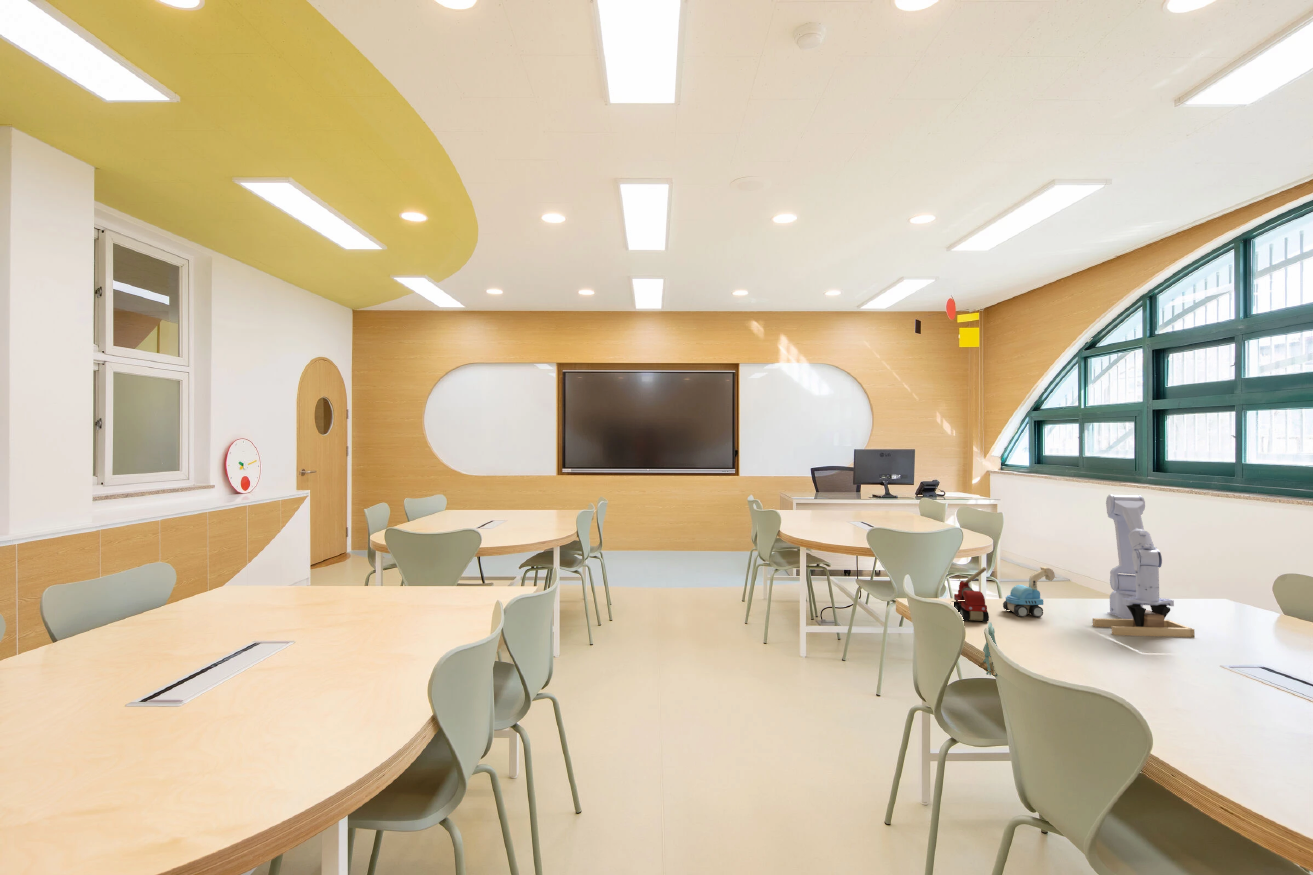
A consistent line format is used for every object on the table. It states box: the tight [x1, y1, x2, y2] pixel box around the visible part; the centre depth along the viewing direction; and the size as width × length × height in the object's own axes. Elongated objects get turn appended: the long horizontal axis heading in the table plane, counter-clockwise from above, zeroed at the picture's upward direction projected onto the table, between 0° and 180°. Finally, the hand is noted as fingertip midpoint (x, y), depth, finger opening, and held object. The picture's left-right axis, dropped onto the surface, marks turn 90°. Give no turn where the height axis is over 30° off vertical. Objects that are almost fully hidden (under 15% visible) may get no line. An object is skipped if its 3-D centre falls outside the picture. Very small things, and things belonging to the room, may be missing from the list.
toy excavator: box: [1002, 566, 1056, 618], centre depth 201 cm, size 9×17×17 cm, turn 89°
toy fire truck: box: [951, 566, 990, 622], centre depth 198 cm, size 11×16×18 cm
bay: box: [1092, 617, 1195, 638], centre depth 180 cm, size 10×24×3 cm, turn 85°
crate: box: [1133, 609, 1165, 627], centre depth 180 cm, size 6×5×6 cm
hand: (1148, 627), depth 180 cm, fingers closed on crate, 5 cm apart
